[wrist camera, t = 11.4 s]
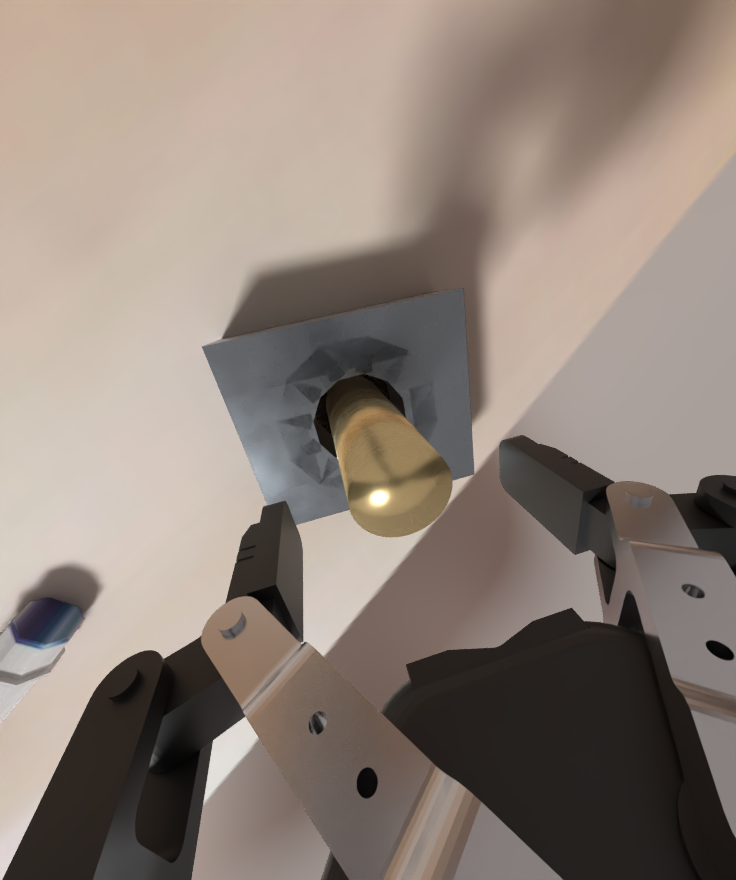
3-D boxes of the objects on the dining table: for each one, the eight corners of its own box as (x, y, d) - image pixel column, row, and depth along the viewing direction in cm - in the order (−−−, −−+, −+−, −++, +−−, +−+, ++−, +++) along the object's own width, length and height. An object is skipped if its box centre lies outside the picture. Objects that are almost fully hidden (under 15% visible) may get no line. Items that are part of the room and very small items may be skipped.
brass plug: (319, 382, 21) (336, 461, 10) (375, 369, 22) (447, 431, 11) (332, 434, 23) (360, 549, 12) (384, 421, 23) (455, 520, 12)
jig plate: (221, 339, 19) (201, 346, 15) (435, 291, 20) (463, 288, 17) (281, 496, 24) (277, 530, 20) (450, 450, 25) (474, 474, 22)
